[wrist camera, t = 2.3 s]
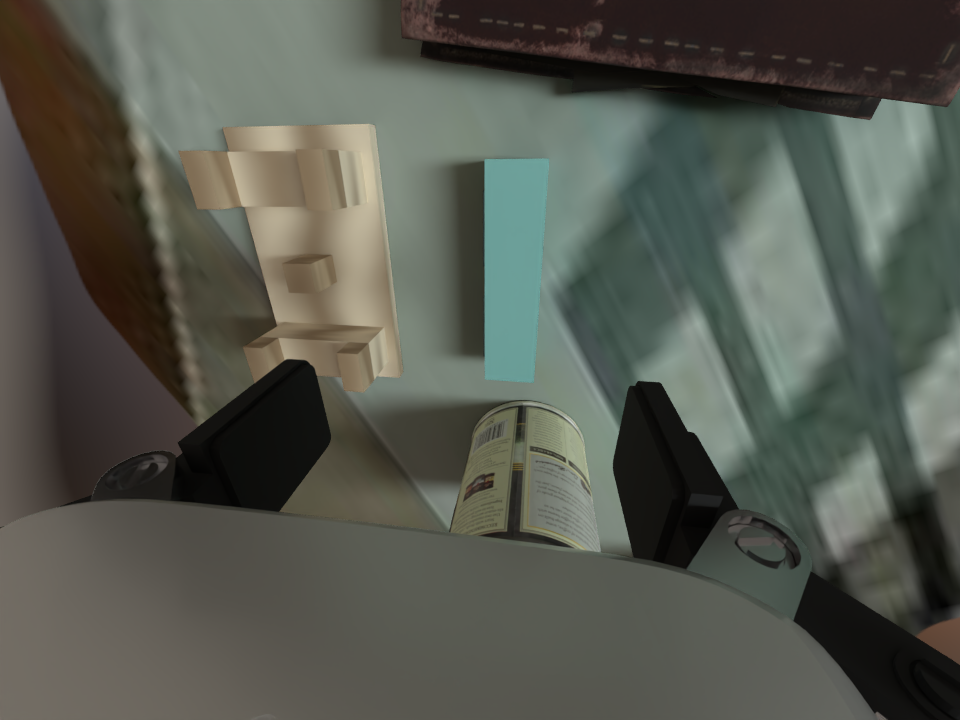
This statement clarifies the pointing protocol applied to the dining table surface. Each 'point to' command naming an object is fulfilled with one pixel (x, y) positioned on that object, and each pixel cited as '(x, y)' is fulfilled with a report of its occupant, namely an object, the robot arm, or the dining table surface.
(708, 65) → the diary
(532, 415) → the coffee can
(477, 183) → the dining table surface
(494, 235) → the teal rectangular block
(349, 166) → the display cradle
